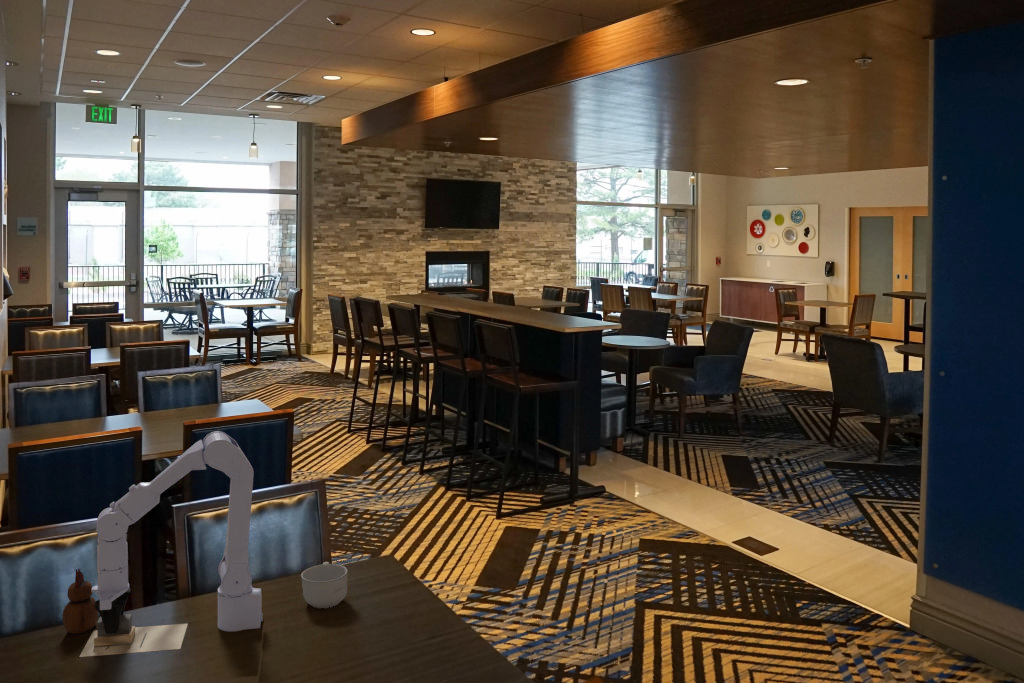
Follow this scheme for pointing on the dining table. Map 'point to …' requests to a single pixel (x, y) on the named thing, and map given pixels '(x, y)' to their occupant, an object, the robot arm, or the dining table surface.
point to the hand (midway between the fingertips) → (113, 628)
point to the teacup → (324, 585)
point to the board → (142, 641)
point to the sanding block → (115, 639)
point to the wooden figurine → (79, 606)
